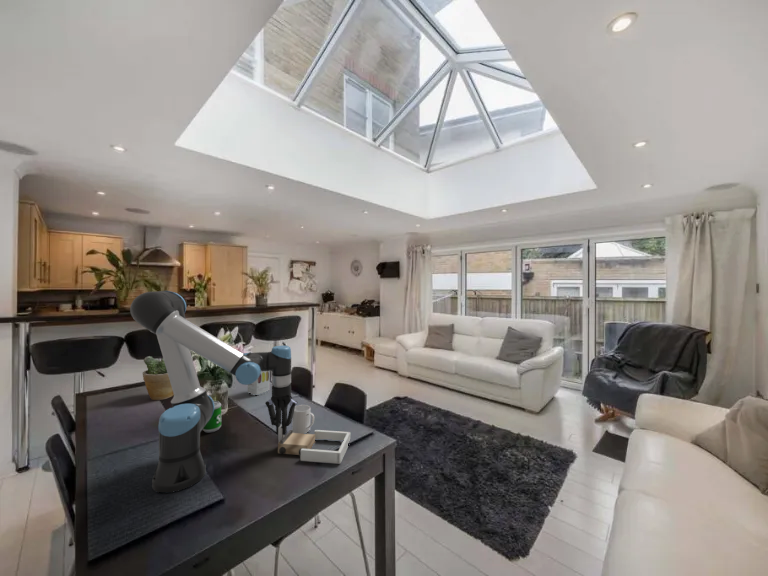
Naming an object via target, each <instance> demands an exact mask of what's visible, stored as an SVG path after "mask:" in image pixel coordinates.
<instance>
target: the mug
mask: <svg viewBox="0 0 768 576" xmlns="http://www.w3.org/2000/svg"><path fill="white" fill-rule="evenodd" d="M311 411H312V410H311V406H310V405H307V404H299V405H296V406H295V409H294V413H293V418H292V422H291V425H292V426H291V427H292V429H291V430H292V433H301V434H304V433H307V432H308V431H309V430H310V431H311V427H313V425H314V423H315V419H316V418H315V415H314V413H313V412H311ZM307 434H308V433H307Z"/></svg>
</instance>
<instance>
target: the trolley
mask: <svg viewBox="0 0 768 576" xmlns="http://www.w3.org/2000/svg"><path fill="white" fill-rule="evenodd" d="M314 443H315V444H316V441H315V433H313V434H312V433H307V434H301V433H293V432H292V429H289V430H288V431H287V432H286V434H285V436H284V437H283V438H282V439H281V441H280V442H279V443H277V454H280V455H284V454H285V455H297V456H301V449H302V448H303V449H311V448H312V446H313V444H314ZM313 447H314V446H313ZM312 449H313V448H312Z"/></svg>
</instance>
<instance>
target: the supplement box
mask: <svg viewBox="0 0 768 576" xmlns="http://www.w3.org/2000/svg"><path fill="white" fill-rule="evenodd" d="M270 376H271V371H261V374H260V376H259V378H258V379H257V380H256V381H255V382H254V383H252V384H249V385H247V393H248V392H250V393H252V394H256V395H257V394H260V393H263V392H266V391H268V390H270V389H271V387H270V384H271V383H270V382H271V377H270ZM252 394H251V395H252Z"/></svg>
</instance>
